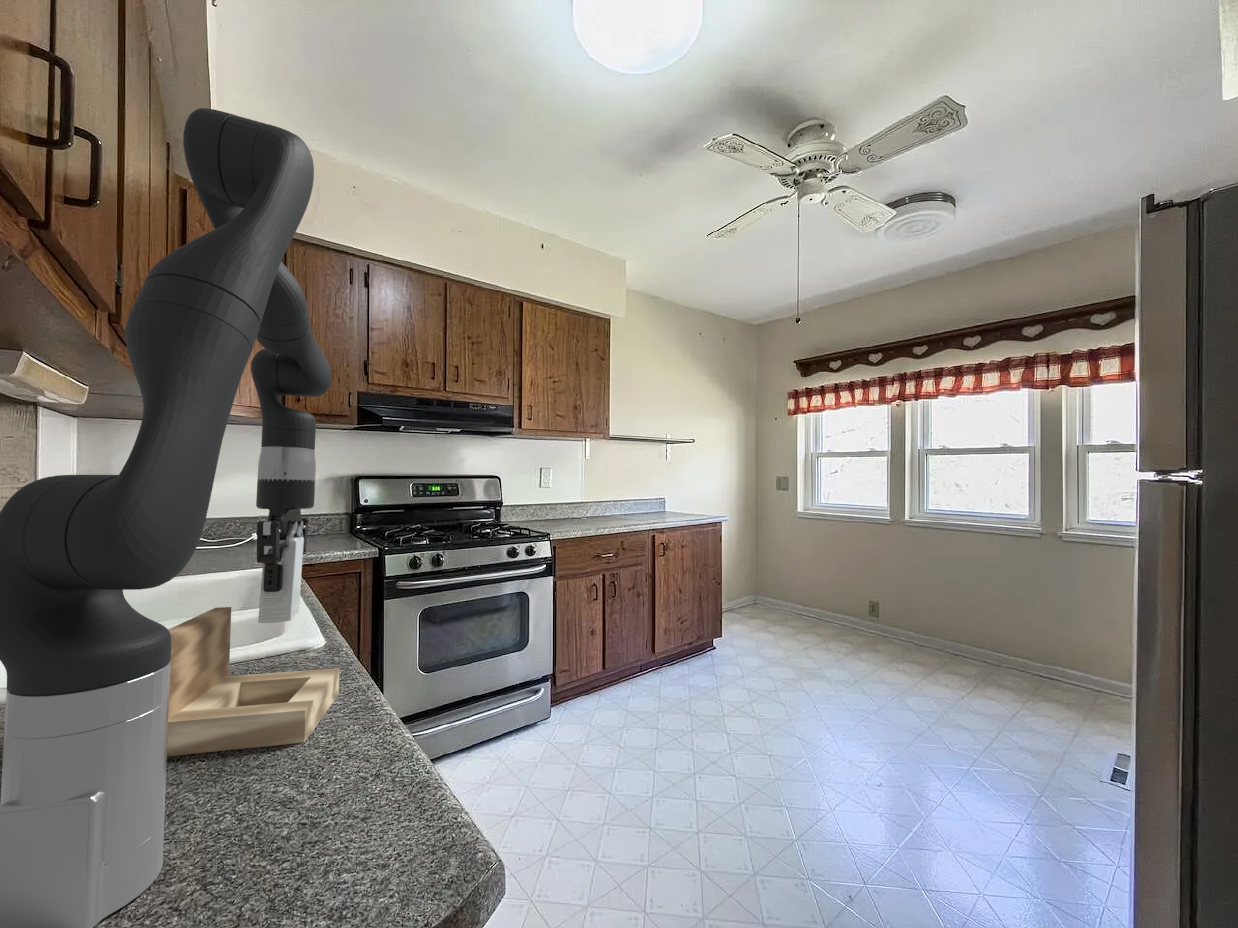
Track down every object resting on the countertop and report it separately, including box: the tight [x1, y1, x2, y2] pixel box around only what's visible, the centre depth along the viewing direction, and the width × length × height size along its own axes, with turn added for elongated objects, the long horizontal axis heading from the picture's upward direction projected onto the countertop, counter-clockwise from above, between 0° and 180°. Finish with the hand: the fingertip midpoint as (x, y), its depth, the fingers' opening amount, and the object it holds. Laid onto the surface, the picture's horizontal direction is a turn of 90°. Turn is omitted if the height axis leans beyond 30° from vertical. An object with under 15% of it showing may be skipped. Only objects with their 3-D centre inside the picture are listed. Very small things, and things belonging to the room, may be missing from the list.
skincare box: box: [257, 537, 304, 624], centre depth 78 cm, size 6×4×12 cm
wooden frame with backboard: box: [167, 606, 340, 757], centre depth 70 cm, size 16×17×14 cm
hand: (281, 587), depth 78 cm, fingers closed on skincare box, 6 cm apart
